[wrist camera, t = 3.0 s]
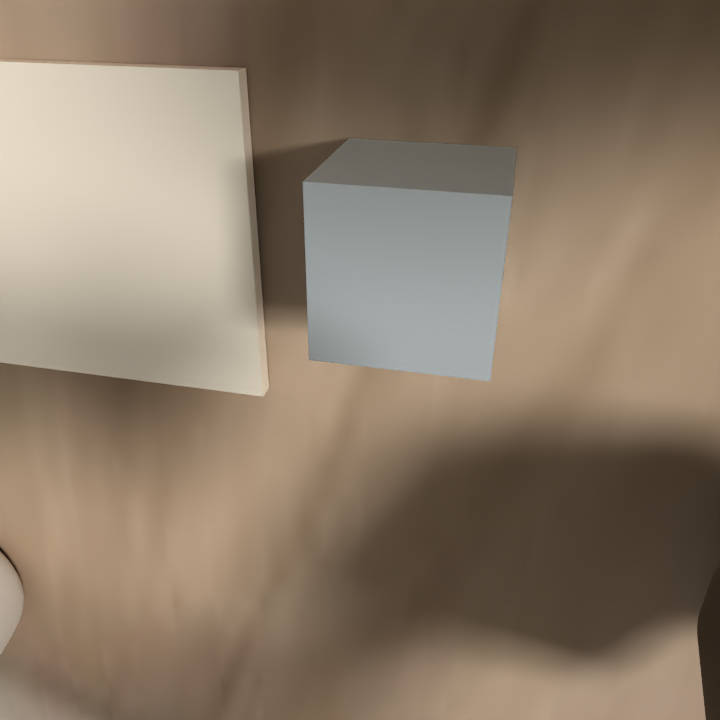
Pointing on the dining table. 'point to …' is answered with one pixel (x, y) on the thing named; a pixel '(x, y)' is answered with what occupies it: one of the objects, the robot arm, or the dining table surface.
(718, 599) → the robot arm
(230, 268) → the coaster
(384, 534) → the dining table surface
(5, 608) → the cup
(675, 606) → the dining table surface
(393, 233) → the slate block
